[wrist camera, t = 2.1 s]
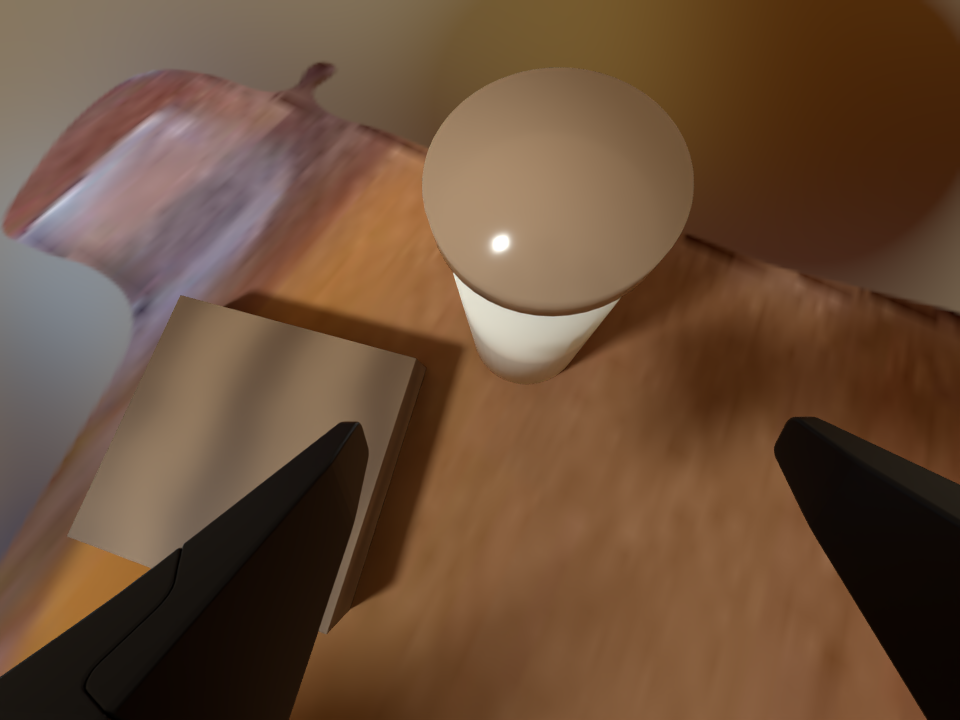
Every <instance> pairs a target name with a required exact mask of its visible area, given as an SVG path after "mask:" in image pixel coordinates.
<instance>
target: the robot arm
mask: <svg viewBox="0 0 960 720" xmlns="http://www.w3.org/2000/svg"><path fill="white" fill-rule="evenodd" d="M774 453H775V457H776V459H777V461H778V463H779V466H780V468H781V470H782V472H783V474H784V476H785V478H786V480H787V482H788V484H789V486H790V488H791V490H792V492H793V494H794V497H795V499H796V501H797V503H798V505H799V507H800V509H801V511H802V513H803V515H804V517H805V519H806V521H807V523H808V525H809V527H810V528H811V530H812V532H813V534H814V535H815V537H816V539H817V540H818V542H819V544H820V545H821V547H822V549H823V550H824V552H825V554H826V555H827V557H828V558H829V560H830V562H831V563H832V565H833V567H834V568H835V570H836V572H837V573H838V575H839V576H840V578H841V580H842V581H843V583H844V585H845V586H846V588H847V590H848V591H849V593H850V594H851V596H852V598H853V599H854V601H855V603H856V604H857V606H858V608H859V609H860V611H861V612H862V614H863V616H864V617H865V619H866V621H867V622H868V624H869V626H870V627H871V629H872V631H873V632H874V634H875V635H876V637H877V639H878V640H879V642H880V644H881V645H882V647H883V649H884V650H885V652H886V653H887V655H888V657H889V658H890V660H891V662H892V663H893V665H894V667H895V668H896V670H897V671H898V673H899V675H900V676H901V678H902V680H903V681H904V683H905V685H906V686H907V688H908V689H909V691H910V693H911V694H912V696H913V698H914V699H915V701H916V703H917V704H918V706H919V707H920V709H921V711H922V712H923V714H924V716H925V717H926V719H927V720H960V485H959V484H957V483H955V482H953V481H951V480H949V479H946V478H944V477H942V476H940V475H938V474H936V473H934V472H932V471H929V470H927V469H925V468H923V467H921V466H919V465H917V464H915V463H912V462H910V461H908V460H906V459H904V458H902V457H900V456H898V455H895V454H893V453H891V452H889V451H887V450H885V449H883V448H881V447H878V446H876V445H874V444H872V443H870V442H868V441H866V440H864V439H861V438H859V437H857V436H855V435H853V434H851V433H849V432H847V431H844V430H842V429H840V428H838V427H836V426H834V425H832V424H830V423H827V422H825V421H823V420H821V419H819V418H816V417H792V418H790V419H789V420H788V421H787V422H786V424H785V426H784V428H783V430H782V432H781V434H780V436H779V438H778V440H777V441H776V443H775V446H774ZM368 458H369V448H368V444H367V441H366V438H365V434H364V431H363V428H362V425H361V424H360V423H359V422H357V421H344V422H340V423H338V424H337V425H336V426H334V427H333V428H332V429H330V430H329V431H328V432H327V433H325V434H324V435H323V436H322V437H320V438H319V439H318V440H316V441H315V442H314V443H313V444H311V445H310V446H309V447H307V448H306V449H305V450H304V451H302V452H301V453H300V454H298V455H297V456H296V457H295V458H293V459H292V460H291V461H289V462H288V463H287V464H286V465H284V466H283V467H282V468H280V469H279V470H278V471H277V472H275V473H274V474H273V475H271V476H270V477H269V478H268V479H266V480H265V481H264V482H262V483H261V484H260V485H259V486H257V487H256V488H255V489H253V490H252V491H251V492H250V493H248V494H247V495H246V496H244V497H243V498H242V499H241V500H239V501H238V502H237V503H235V504H234V505H233V506H232V507H230V508H229V509H228V510H226V511H225V512H224V513H223V514H221V515H220V516H219V517H217V518H216V519H215V520H214V521H212V522H211V523H210V524H209V525H207V526H206V527H205V528H203V529H202V530H201V531H200V532H198V533H197V534H196V535H194V536H193V537H192V538H191V539H189V540H188V541H187V542H185V543H184V544H183V546H182V548H178V549H176V550H175V551H174V552H172V553H171V554H170V555H168V556H167V557H166V558H165V559H163V560H162V561H161V562H159V563H158V564H157V565H156V566H154V567H153V568H152V569H150V570H149V571H148V572H146V573H145V574H144V575H142V576H141V577H140V578H138V579H137V580H136V581H134V582H133V583H132V584H131V585H129V586H128V587H127V588H125V589H124V590H123V591H121V592H120V593H119V594H117V595H116V596H114V597H113V598H112V599H110V600H109V601H107V602H106V603H105V604H103V605H102V606H100V607H99V608H98V609H96V610H95V611H93V612H92V613H91V614H89V615H88V616H86V617H85V618H84V619H82V620H81V621H79V622H78V623H77V624H75V625H74V626H72V627H71V628H70V629H68V630H67V631H65V632H64V633H62V634H61V635H60V636H58V637H57V638H55V639H54V640H52V641H51V642H50V643H48V644H47V645H45V646H44V647H42V648H41V649H40V650H38V651H37V652H35V653H34V654H32V655H31V656H29V657H28V658H27V659H25V660H24V661H22V662H21V663H19V664H18V665H17V666H15V667H14V668H12V669H11V670H9V671H8V672H7V673H5V674H4V675H2V676H1V677H0V720H289V718H290V715H291V712H292V709H293V706H294V703H295V700H296V697H297V694H298V691H299V688H300V685H301V682H302V679H303V676H304V673H305V670H306V667H307V664H308V661H309V658H310V655H311V652H312V649H313V646H314V643H315V640H316V637H317V634H318V631H319V628H320V625H321V622H322V619H323V616H324V613H325V610H326V607H327V604H328V601H329V598H330V595H331V592H332V589H333V586H334V583H335V580H336V577H337V574H338V571H339V568H340V565H341V562H342V559H343V556H344V553H345V550H346V547H347V544H348V541H349V538H350V535H351V532H352V529H353V525H354V522H355V518H356V514H357V509H358V505H359V500H360V495H361V491H362V486H363V482H364V477H365V472H366V468H367V463H368Z"/></svg>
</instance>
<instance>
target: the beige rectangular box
mask: <svg viewBox="0 0 960 720" xmlns="http://www.w3.org/2000/svg"><path fill="white" fill-rule="evenodd" d="M425 371H426V367H425V366H424V365H422V364H421V363H420V362H419V361H418V360H417V359H416V358H413V357H409V356H405V355H401V354H398V353H394V352H390V351H387V350H383V349H379V348H375V347H372V346H368V345H364V344H360V343H357V342H353V341H349V340H346V339H342V338H338V337H334V336H331V335H327V334H323V333H319V332H316V331H312V330H308V329H305V328H301V327H297V326H293V325H290V324H286V323H282V322H278V321H275V320H271V319H267V318H264V317H260V316H256V315H252V314H249V313H245V312H241V311H237V310H234V309H230V308H226V307H223V306H219V305H215V304H211V303H208V302H204V301H200V300H196V299H193V298H189V297H185V296H182V295H180V298H179V300H178V302H177V304H176V306H175V308H174V310H173V312H172V315H171V317H170V319H169V321H168V323H167V325H166V327H165V329H164V332H163V334H162V336H161V338H160V340H159V342H158V344H157V346H156V349H155V351H154V353H153V355H152V357H151V359H150V361H149V363H148V365H147V368H146V370H145V372H144V374H143V376H142V378H141V380H140V382H139V385H138V387H137V389H136V391H135V393H134V395H133V397H132V399H131V402H130V404H129V406H128V408H127V410H126V412H125V414H124V416H123V419H122V421H121V423H120V425H119V427H118V429H117V431H116V433H115V435H114V438H113V440H112V442H111V444H110V446H109V448H108V450H107V452H106V455H105V457H104V459H103V461H102V463H101V465H100V467H99V469H98V472H97V474H96V476H95V478H94V480H93V482H92V484H91V486H90V489H89V491H88V493H87V495H86V497H85V499H84V501H83V503H82V505H81V508H80V510H79V512H78V514H77V516H76V518H75V520H74V522H73V525H72V527H71V529H70V531H69V533H68V535H67V536H68V537H70V538H73V539H76V540H78V541H81V542H84V543H86V544H89V545H92V546H94V547H97V548H100V549H102V550H105V551H107V552H110V553H113V554H115V555H118V556H121V557H123V558H126V559H129V560H131V561H134V562H137V563H139V564H142V565H145V566H147V567H150V568H153V567H154V566H156V565H157V564H158V563H159V562H161V561H162V560H163V559H165V558H166V557H167V556H168V555H170V554H171V553H172V552H174V551H175V550H176V549H178V548H182V546H183V544H184V543H185V542H187V541H188V540H189V539H191V538H192V537H193V536H194V535H196V534H197V533H198V532H200V531H201V530H202V529H203V528H205V527H206V526H207V525H209V524H210V523H211V522H212V521H214V520H215V519H216V518H217V517H219V516H220V515H221V514H223V513H224V512H225V511H226V510H228V509H229V508H230V507H232V506H233V505H234V504H235V503H237V502H238V501H239V500H241V499H242V498H243V497H244V496H246V495H247V494H248V493H250V492H251V491H252V490H253V489H255V488H256V487H257V486H259V485H260V484H261V483H262V482H264V481H265V480H266V479H268V478H269V477H270V476H271V475H273V474H274V473H275V472H277V471H278V470H279V469H280V468H282V467H283V466H284V465H286V464H287V463H288V462H289V461H291V460H292V459H293V458H295V457H296V456H297V455H298V454H300V453H301V452H302V451H304V450H305V449H306V448H307V447H309V446H310V445H311V444H313V443H314V442H315V441H316V440H318V439H319V438H320V437H322V436H323V435H324V434H325V433H327V432H328V431H329V430H330V429H332V428H333V427H334V426H336V425H337V424H338V423H340V422H344V421H357V422H359V423H360V424H361V425H362V428H363V431H364V434H365V438H366V441H367V444H368V448H369V458H368V463H367V468H366V472H365V477H364V482H363V486H362V491H361V495H360V500H359V505H358V509H357V514H356V518H355V522H354V525H353V529H352V532H351V535H350V538H349V541H348V544H347V547H346V550H345V553H344V556H343V559H342V562H341V565H340V568H339V571H338V574H337V577H336V580H335V583H334V586H333V589H332V592H331V595H330V598H329V601H328V604H327V607H326V610H325V613H324V616H323V619H322V622H321V625H320V628H319V632H322V633H325V634H327V633H328V632H329V631H330V630H331V629H332V628H333V627H334V626H335V625H336V624H337V623H338V622H339V620H340V619H341V618H342V617H343V616H344V615H345V614H346V613H347V612H348V611H349V610H350V607H351V604H352V600H353V597H354V594H355V591H356V588H357V585H358V582H359V578H360V575H361V572H362V569H363V566H364V563H365V560H366V556H367V553H368V550H369V547H370V544H371V541H372V538H373V534H374V531H375V528H376V525H377V522H378V519H379V515H380V512H381V509H382V506H383V503H384V500H385V497H386V493H387V490H388V487H389V484H390V481H391V478H392V475H393V471H394V468H395V465H396V462H397V459H398V456H399V452H400V449H401V446H402V443H403V440H404V437H405V434H406V430H407V427H408V424H409V421H410V418H411V415H412V412H413V408H414V405H415V402H416V399H417V396H418V393H419V390H420V386H421V383H422V380H423V377H424V374H425Z"/></svg>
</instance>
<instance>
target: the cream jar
mask: <svg viewBox="0 0 960 720" xmlns="http://www.w3.org/2000/svg"><path fill="white" fill-rule="evenodd" d="M693 191H694V175H693V167H692V162H691V157H690V154H689V151H688V148H687V145H686V143H685V140H684V138H683V137H682V135H681V133H680V131H679V129H678V127H677V126H676V125H675V123H674V122H673V121H672V119H671V118H670V117H669V115H668V114H667V113H666V112H665V111H664V110H663V109H662V108H661V107H660V106H659V105H658V104H657V103H656V102H655V101H653V100H652V99H651V98H650V97H648V96H647V95H646V94H645V93H643V92H642V91H640V90H638V89H637V88H635V87H633V86H632V85H630V84H628V83H626V82H623V81H621V80H619V79H617V78H614V77H611V76H608V75H605V74H602V73H599V72H594V71H589V70H584V69H576V68H543V69H534V70H529V71H525V72H520V73H516V74H513V75H510V76H508V77H504V78H502V79H500V80H497V81H495V82H493V83H490V84H488V85H487V86H485V87H483V88H482V89H480V90H478V91H476V92H475V93H474V94H472V95H471V96H470V97H468V98H467V99H466V100H464V101H463V102H462V103H461V104H460V105H459V106H458V107H457V108H456V109H455V110H454V111H453V112H451V114H450V115H449V116H448V117H447V119H446V120H445V121H444V123H443V124H442V125H441V127H440V128H439V130H438V132H437V133H436V135H435V137H434V138H433V141H432V143H431V145H430V147H429V150H428V153H427V156H426V160H425V163H424V169H423V177H422V196H423V202H424V207H425V212H426V215H427V218H428V221H429V224H430V227H431V230H432V233H433V235H434V238H435V241H436V244H437V247H438V249H439V251H440V253H441V255H442V257H443V259H444V260H445V262H446V263H447V265H448V266H449V268H450V269H451V270H452V272H453V274H454V277H455V281H456V284H457V287H458V290H459V294H460V297H461V300H462V303H463V306H464V310H465V313H466V316H467V319H468V323H469V326H470V329H471V332H472V336H473V339H474V342H475V345H476V348H477V351H478V354H479V356H480V358H481V359H482V361H483V362H484V364H485V365H486V366H487V367H488V368H489V369H490V370H491V371H492V372H493V373H494V374H496V375H497V376H499V377H500V378H503V379H505V380H507V381H510V382H513V383H518V384H535V383H541V382H544V381H547V380H549V379H551V378H553V377H555V376H556V375H558V374H559V373H560V372H561V371H563V370H564V369H565V368H566V366H567V365H568V364H569V363H570V362H571V360H572V359H573V358H574V357H575V355H576V354H577V353H578V351H579V350H580V349H581V348H582V346H583V345H584V344H585V343H586V341H587V340H588V339H589V337H590V336H591V335H592V334H593V332H594V331H595V330H596V329H597V327H598V326H599V325H600V323H601V322H602V321H603V320H604V318H605V317H606V316H607V315H608V313H609V312H610V311H611V310H612V308H613V307H614V306H615V304H616V303H617V302H618V301H619V299H620V298H621V297H623V296H624V295H626V294H627V293H629V292H630V291H632V290H633V289H634V288H635V287H637V286H638V285H639V284H640V283H641V282H642V281H643V280H645V278H646V277H647V276H648V275H649V274H650V273H651V272H652V270H653V269H654V268H655V267H656V266H657V265H658V263H659V262H660V261H661V260H662V259H663V257H664V256H665V255H666V254H667V253H668V252H669V250H670V249H671V248H672V247H673V245H674V244H675V242H676V240H677V239H678V237H679V236H680V234H681V233H682V230H683V228H684V226H685V224H686V221H687V219H688V216H689V213H690V209H691V205H692V201H693Z"/></svg>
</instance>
